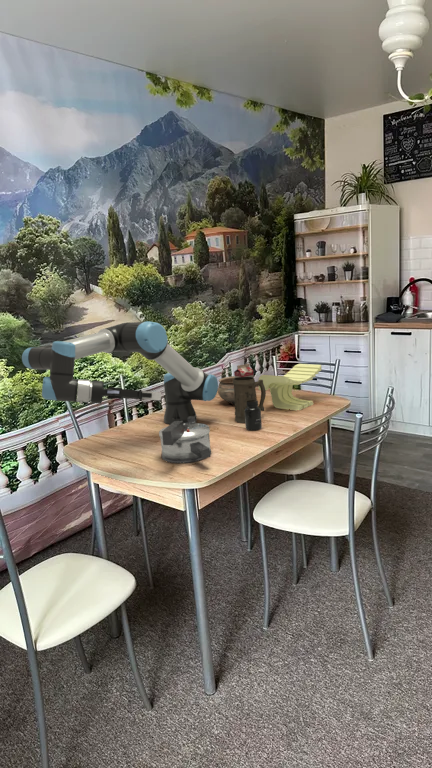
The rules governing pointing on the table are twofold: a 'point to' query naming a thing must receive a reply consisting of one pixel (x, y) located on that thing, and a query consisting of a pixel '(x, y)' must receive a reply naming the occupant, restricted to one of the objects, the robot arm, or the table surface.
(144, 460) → the table surface
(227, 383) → the cooking pot
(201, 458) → the pot
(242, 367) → the juice carton
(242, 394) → the beer stein
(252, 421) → the supplement bottle
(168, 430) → the lid
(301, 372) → the slatted curved stool
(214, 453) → the table surface
